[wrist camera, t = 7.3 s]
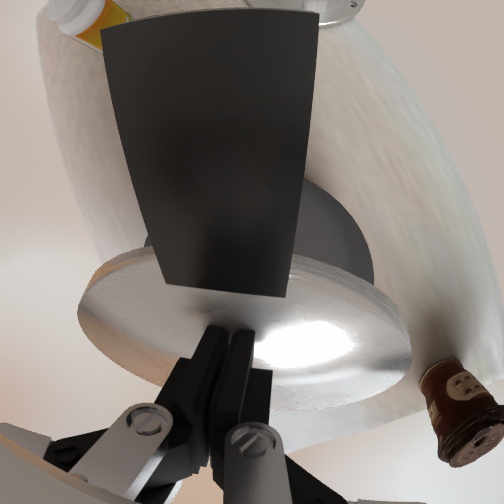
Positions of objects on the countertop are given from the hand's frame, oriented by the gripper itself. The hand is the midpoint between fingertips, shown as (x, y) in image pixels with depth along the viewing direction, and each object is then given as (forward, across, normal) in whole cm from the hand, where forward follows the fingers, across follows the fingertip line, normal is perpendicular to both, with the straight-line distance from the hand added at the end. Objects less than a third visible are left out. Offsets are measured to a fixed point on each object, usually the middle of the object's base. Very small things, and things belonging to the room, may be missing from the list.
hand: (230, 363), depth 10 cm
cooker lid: (+2, 0, 0) cm, 2 cm away
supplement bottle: (+18, +18, -22) cm, 34 cm away
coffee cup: (+18, -24, +15) cm, 34 cm away
